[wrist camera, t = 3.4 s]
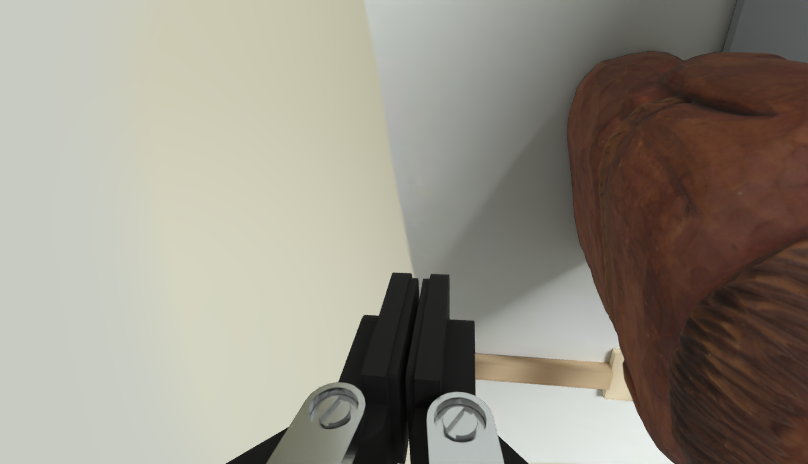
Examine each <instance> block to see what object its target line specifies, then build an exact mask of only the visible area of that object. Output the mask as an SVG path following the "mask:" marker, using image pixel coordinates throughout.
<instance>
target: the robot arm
mask: <svg viewBox="0 0 808 464" xmlns="http://www.w3.org/2000/svg"><path fill="white" fill-rule="evenodd" d="M408 441H409V445H410V460H411V464H528V463H527V462H526V461H525V460H524V459H523V458H522V457H521V456H520V455H519V454H517V453H516V452H515V451H514V450H513V449H512V448H511V447H510V446H509V445H508V444H507V443H506V442H504V441H503V440H502V439H501V438H500V437H499V436H498V435H497V430H496V426H495V422H494V417H493V415H492V413H491V410H490V408H489V407H488V406H487V405H486V404H485V402H484V401H482V400H481V399H479V398H478V397H476V396H475V322H474V321H467V320H449V275H444V274H431V275H430V279H423V283H422V289H421V294H420V299H419V281H418V278H412V274H411V273H392V276H391V279H390V282H389V286H388V289H387V292H386V295H385V298H384V301H383V305H382V308H381V311H380V314H379V316H375V315H364V316H363V318H362V320H361V322H360V325H359V328H358V330H357V333H356V336H355V338H354V341H353V344H352V347H351V349H350V352H349V355H348V357H347V360H346V363H345V366H344V368H343V371H342V374H341V376H340V379H339V382H337V383H331V384H327V385H324V386H322V387H320V388H318V389H317V390H316V391H314V392H313V393H311V394H310V396H309V397H308V398H307V399H306V400H305V402H304V404H303V405H302V407H301V408H300V410H299V412H298V413H297V415H296V417H295V418H294V420H293V421H292V423H291V425H290V426H289V427H288V428H286V429H285V430H283V431H281V432H279V433H278V434H276V435H274V436H272V437H271V438H269V439H267V440H266V441H264V442H262V443H260V444H259V445H257V446H255V447H254V448H252V449H250V450H248V451H247V452H245V453H243V454H242V455H240V456H238V457H236V458H235V459H233V460H231V461H230V462H228V463H226V464H397V463H399V464H405V460H406V454H407V448H408Z"/></svg>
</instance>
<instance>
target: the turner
mask: <svg viewBox="0 0 808 464" xmlns="http://www.w3.org/2000/svg"><path fill="white" fill-rule="evenodd" d="M623 361H624V357H623V355H622V352H621V349H613V351H612V355H611V359H610V363H600V362H587V361H573V360H559V359H544V358H530V357H516V356H501V355H487V354H475V379H478V380H491V381H503V382H516V383H529V384H541V385H554V386H566V387H579V388H591V389H603V391H602V394H603V397H604V399H612V400H624V401H633V399H632V397H631V394H630V392H629V390H628V388H627V385H626V383H625V380H624V376H623V365H622V363H623Z"/></svg>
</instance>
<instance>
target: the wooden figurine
mask: <svg viewBox="0 0 808 464" xmlns="http://www.w3.org/2000/svg"><path fill="white" fill-rule="evenodd" d="M567 141H568V150H569V159H570V169H571V177H572V187H573V205H574V215H575V221H576V226H577V232H578V237H579V241H580V245H581V247H582V249H583V252H584V254H585V258H586V261H587V263H588V266H589V267H590V269H591V273H592V277H593V280H594V283H595V286H596V289H597V291H598V294H599V296H600V298H601V301H602V303H603V305H604V308H605V311H606V312H607V314H608V315H609V318H610V320H611V321H612V323H613V326H614V328H615V331H616V332H617V335H618V340H619V346H620V349H621V352H622V355H623V357H624V361H623V363H622V365H623V376H624V380H625V383H626V385H627V388H628V390H629V392H630V394H631V397H632V399H633V402H634V404H635V407H636V410H637V412H638V414H639V416H640V418H641V420H642V421H643V424H644V426H645V428H646V430H647V432H648V434H649V435H650V437H651V438H652V440H653V441H654V443H655V445H656V446H657V448H658V449H659V450H660V451H661V452H662V453H663V454H664V455H665V456H666V457H667V458H668V459H670V460H671V461H672V462H673V463H675V464H808V63H804V62H798V61H791V60H787V59H786V58H783V57H781V56H779V55H776V54H768V53H752V52H714V53H708V54H704V55H700V56H696V57H693V58H690V59H688V60H685V61H683V60H681V59H679V58H678V57H676V56H674V55H671V54H669V53H666V52H656V51H646V52H642V53H636V54H629V55H625V56H622V57H620V58H617V59H612V60H605V61H602V62H600V63H599V64H597V65H596V66H595V67H594V68H593V69H592V70H591V71H590V72H589V73H588V74H587V75H586V76H585V78H584V79H583V80H582V82H581V83H580V85H579V86H578V88H577V91H576V94H575V97H574V101H573V103H572V106H571V110H570V113H569V118H568V126H567Z"/></svg>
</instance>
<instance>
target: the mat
mask: <svg viewBox="0 0 808 464" xmlns="http://www.w3.org/2000/svg"><path fill="white" fill-rule="evenodd" d="M723 52H752V53H768V54H776V55H779V56H781V57H783V58H786V59H787V60H791V61H798V62H804V63H808V0H737V3H736V6H735V10H734V13H733V17H732V20H731V24H730V27H729V31H728V34H727V38H726V41H725V45H724V48H723Z"/></svg>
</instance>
